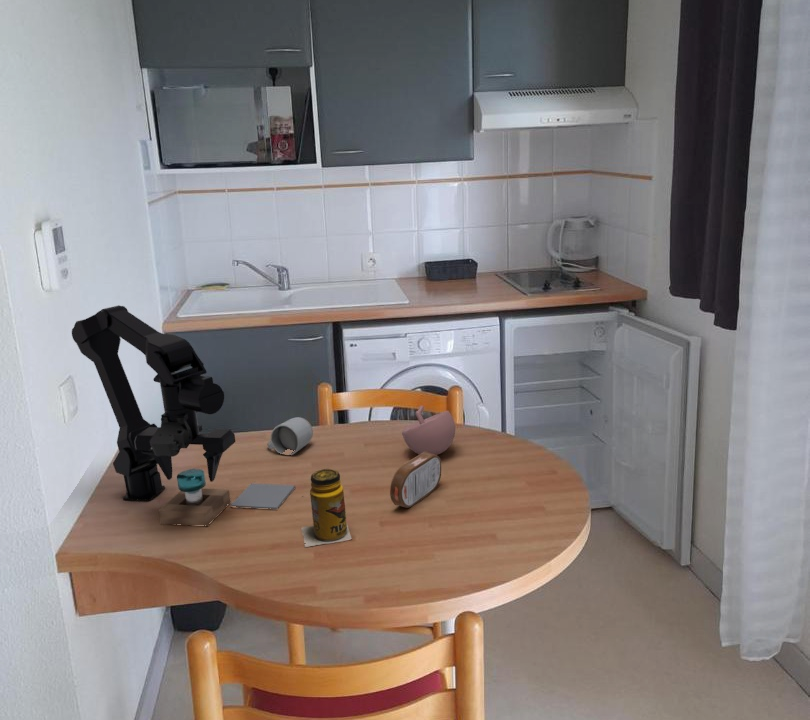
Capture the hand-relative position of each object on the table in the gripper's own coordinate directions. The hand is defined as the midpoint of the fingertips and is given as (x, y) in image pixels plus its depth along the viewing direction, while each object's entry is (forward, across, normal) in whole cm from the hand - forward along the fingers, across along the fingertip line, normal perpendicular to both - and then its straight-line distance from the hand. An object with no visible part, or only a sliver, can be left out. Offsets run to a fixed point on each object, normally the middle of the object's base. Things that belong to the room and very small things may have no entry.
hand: (191, 480), depth 147 cm
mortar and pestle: (+7, +41, +33) cm, 53 cm away
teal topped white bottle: (+7, 0, 0) cm, 7 cm away
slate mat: (+7, +11, +8) cm, 15 cm away
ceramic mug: (+8, +7, +33) cm, 35 cm away
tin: (+7, +43, +11) cm, 45 cm away
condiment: (+7, +29, -5) cm, 30 cm away
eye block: (+7, 0, 0) cm, 7 cm away
